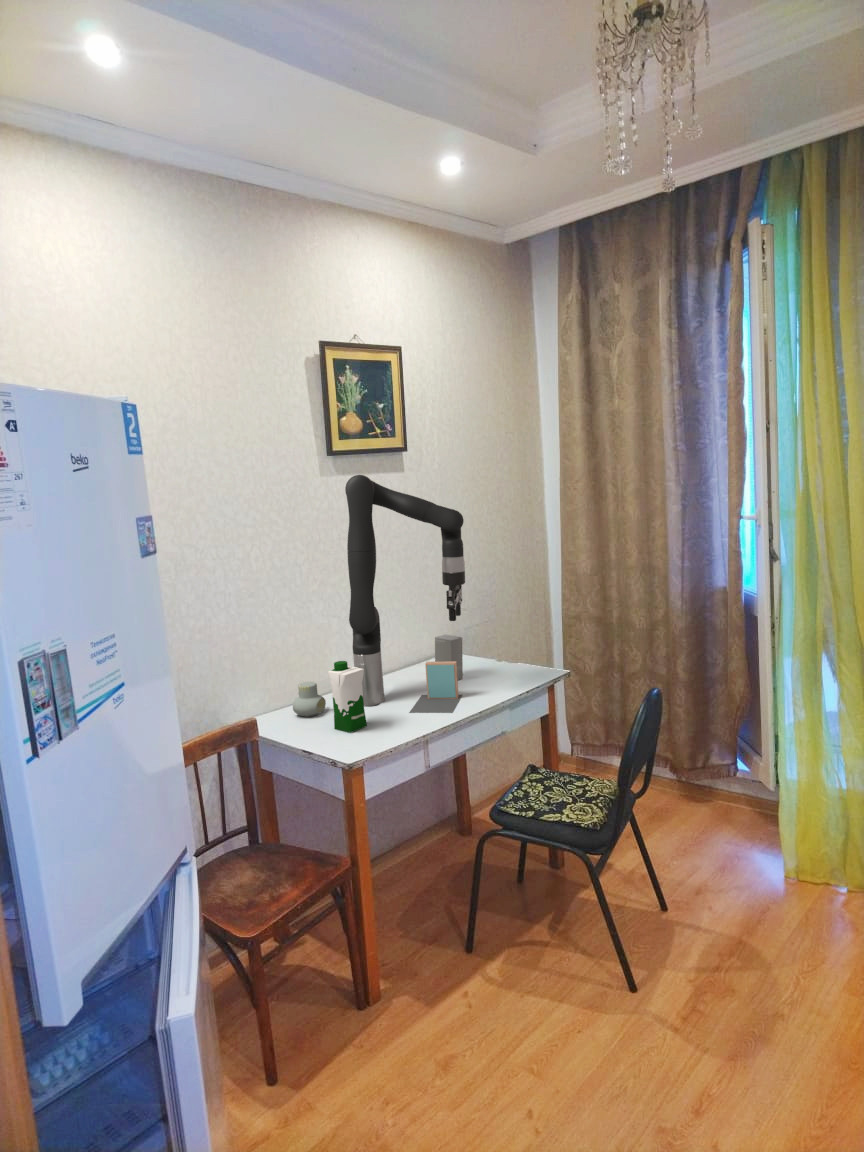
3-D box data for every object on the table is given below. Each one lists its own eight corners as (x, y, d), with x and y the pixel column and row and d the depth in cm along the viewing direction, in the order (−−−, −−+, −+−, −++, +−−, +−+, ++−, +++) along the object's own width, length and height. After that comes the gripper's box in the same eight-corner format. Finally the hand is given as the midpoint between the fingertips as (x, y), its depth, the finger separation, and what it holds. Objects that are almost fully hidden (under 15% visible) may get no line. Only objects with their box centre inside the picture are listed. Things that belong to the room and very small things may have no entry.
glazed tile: (427, 699, 251) (425, 663, 250) (429, 696, 254) (426, 661, 252) (457, 698, 249) (455, 663, 248) (458, 696, 252) (456, 661, 250)
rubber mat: (409, 713, 238) (409, 712, 238) (422, 695, 257) (422, 694, 257) (452, 714, 235) (452, 712, 235) (462, 695, 254) (462, 694, 254)
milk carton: (351, 721, 235) (345, 658, 232) (371, 726, 229) (366, 661, 226) (329, 729, 229) (324, 665, 226) (350, 734, 223) (345, 668, 220)
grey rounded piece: (314, 719, 239) (311, 689, 238) (290, 719, 241) (287, 688, 240) (328, 708, 249) (326, 679, 248) (305, 708, 252) (303, 678, 250)
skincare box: (434, 680, 275) (432, 637, 273) (447, 675, 280) (444, 633, 278) (452, 683, 269) (450, 639, 267) (465, 678, 275) (462, 635, 273)
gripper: (446, 567, 258) (448, 614, 260) (437, 573, 244) (439, 622, 246) (468, 567, 256) (469, 614, 258) (460, 572, 242) (462, 622, 245)
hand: (455, 618), depth 252 cm, fingers open, 8 cm apart
